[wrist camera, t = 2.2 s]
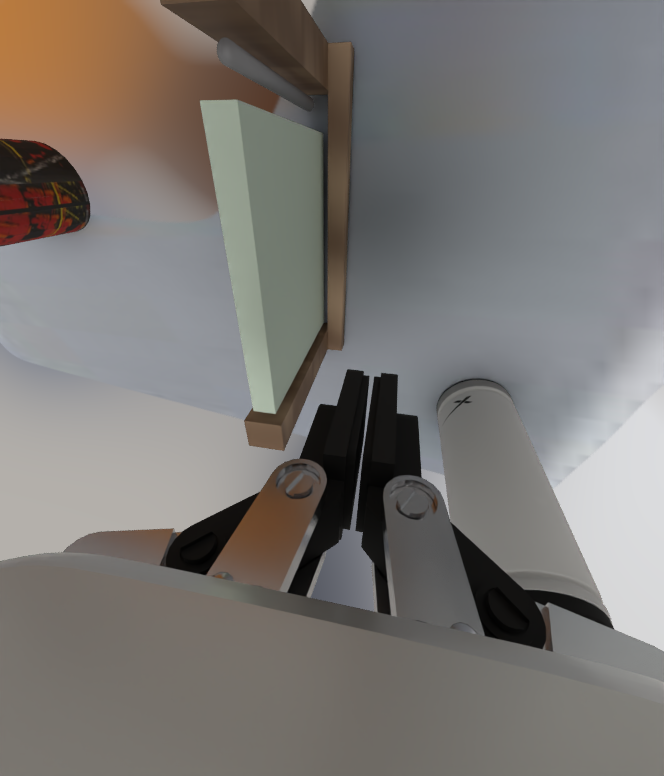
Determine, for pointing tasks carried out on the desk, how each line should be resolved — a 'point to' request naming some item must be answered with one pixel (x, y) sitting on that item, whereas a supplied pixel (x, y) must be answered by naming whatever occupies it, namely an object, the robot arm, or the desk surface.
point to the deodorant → (38, 193)
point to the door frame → (333, 78)
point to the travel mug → (510, 499)
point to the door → (269, 225)
